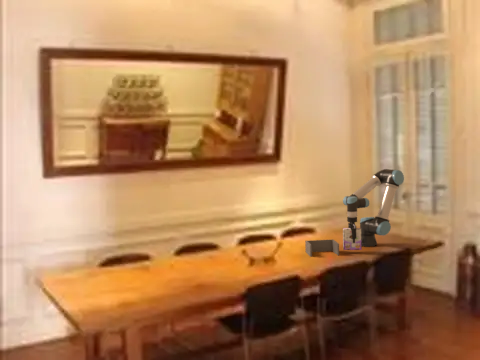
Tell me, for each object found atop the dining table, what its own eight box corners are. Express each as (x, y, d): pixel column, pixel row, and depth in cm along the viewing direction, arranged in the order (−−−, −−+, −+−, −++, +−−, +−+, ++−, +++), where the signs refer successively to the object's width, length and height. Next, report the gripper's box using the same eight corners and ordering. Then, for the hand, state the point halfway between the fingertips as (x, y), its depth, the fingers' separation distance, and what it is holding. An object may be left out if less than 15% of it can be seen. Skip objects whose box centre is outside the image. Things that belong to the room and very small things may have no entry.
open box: (333, 250, 485) (333, 239, 484) (339, 255, 468) (339, 243, 467) (305, 251, 483) (305, 240, 482) (310, 256, 466) (310, 245, 465)
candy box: (360, 248, 478) (360, 227, 477) (361, 250, 472) (361, 228, 471) (342, 248, 480) (342, 227, 478) (343, 250, 474) (343, 228, 472)
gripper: (344, 214, 483) (344, 243, 485) (351, 218, 464) (351, 248, 466) (353, 214, 484) (353, 243, 486) (360, 218, 464) (360, 248, 467)
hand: (352, 246), depth 476 cm, fingers closed on candy box, 6 cm apart
